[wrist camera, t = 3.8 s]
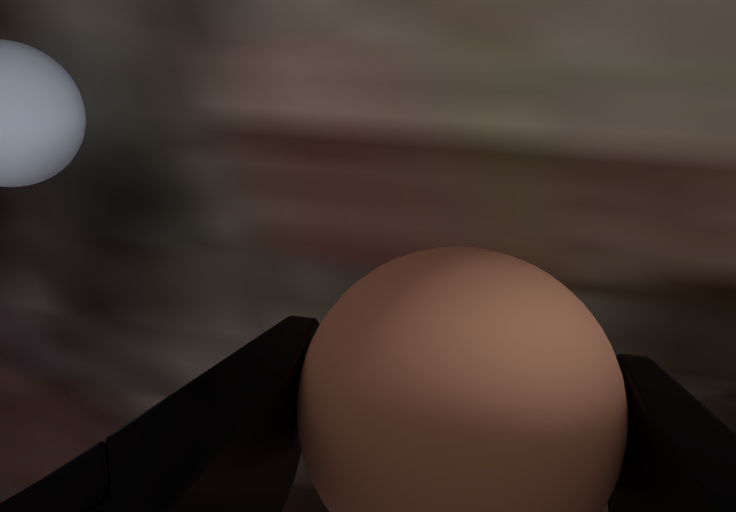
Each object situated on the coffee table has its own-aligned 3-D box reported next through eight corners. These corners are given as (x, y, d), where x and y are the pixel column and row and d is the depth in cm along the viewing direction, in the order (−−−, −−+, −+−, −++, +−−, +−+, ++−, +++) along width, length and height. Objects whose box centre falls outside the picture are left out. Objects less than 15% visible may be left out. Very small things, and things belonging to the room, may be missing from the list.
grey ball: (121, 163, 21) (47, 217, 17) (5, 152, 21) (-89, 203, 18) (99, 31, 19) (10, 62, 15) (-28, 23, 19) (-142, 51, 16)
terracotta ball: (574, 431, 11) (616, 690, 7) (332, 400, 11) (264, 628, 8) (627, 209, 9) (718, 417, 5) (333, 183, 9) (239, 358, 6)
